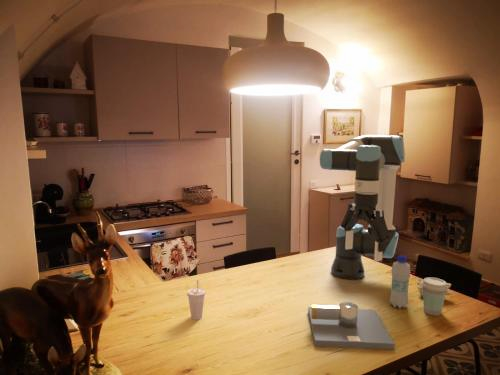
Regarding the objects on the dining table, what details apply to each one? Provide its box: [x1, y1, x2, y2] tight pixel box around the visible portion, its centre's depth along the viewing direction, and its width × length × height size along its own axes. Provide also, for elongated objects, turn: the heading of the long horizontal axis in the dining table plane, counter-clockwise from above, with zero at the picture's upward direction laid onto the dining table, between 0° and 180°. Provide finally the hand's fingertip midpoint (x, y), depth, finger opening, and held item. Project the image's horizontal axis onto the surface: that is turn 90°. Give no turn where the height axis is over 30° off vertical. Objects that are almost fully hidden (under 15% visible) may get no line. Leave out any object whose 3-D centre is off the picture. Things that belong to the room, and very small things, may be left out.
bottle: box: [389, 254, 412, 309], centre depth 141 cm, size 7×7×20 cm
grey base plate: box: [307, 306, 396, 351], centre depth 125 cm, size 22×24×2 cm
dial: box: [310, 301, 359, 328], centre depth 125 cm, size 15×6×6 cm, turn 87°
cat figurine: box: [416, 278, 453, 297], centre depth 151 cm, size 8×7×12 cm
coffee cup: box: [422, 276, 449, 317], centre depth 137 cm, size 8×8×12 cm
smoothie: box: [186, 279, 206, 321], centre depth 131 cm, size 6×6×14 cm
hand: (362, 254), depth 126 cm, fingers open, 13 cm apart
